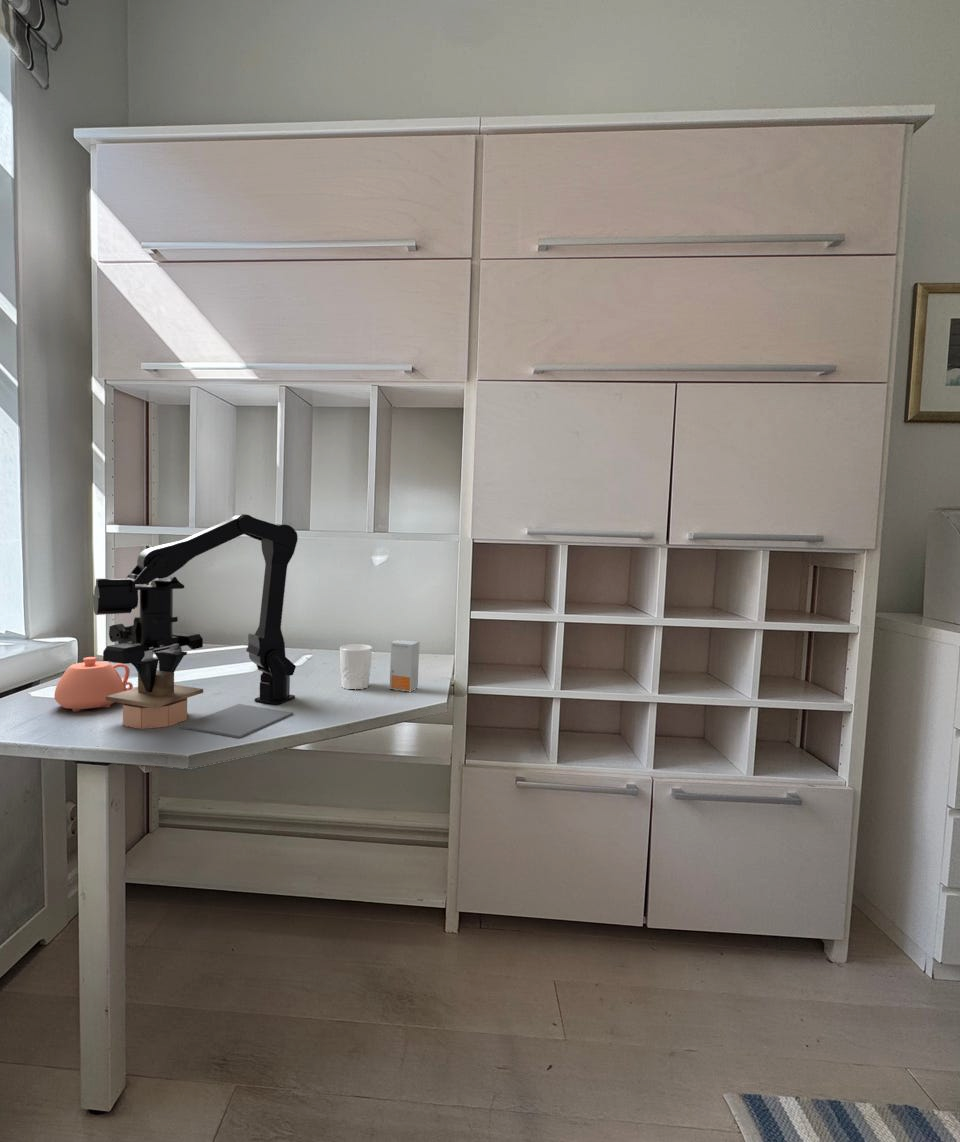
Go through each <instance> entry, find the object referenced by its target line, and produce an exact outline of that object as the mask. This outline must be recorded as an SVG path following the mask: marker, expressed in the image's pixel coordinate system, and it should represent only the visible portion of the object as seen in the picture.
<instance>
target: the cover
mask: <svg viewBox="0 0 960 1142" xmlns="http://www.w3.org/2000/svg"><path fill="white" fill-rule="evenodd" d="M200 694H204V688H201V687H200V688H199V687H195V686H194V687H193V686H185V685H180V684H175V672H174V673H173V672H166V671H159V669H158V670H157V671H156V676H155V682H154V686H153V690H152V692H146V690H145V687H144V685H143V683H142V680H141V678H140V676H139V673H138V672H137V687H136V688H132V689H131V690H127V691H124V692H120V693H116V694H112V695H109V696H106V701H112V702H114V703H119V704H123V703H124V704H130V705H136V706H142V707H148V708H157V707H160V706H163V705H166V704H169V703H173V702H176V701H179V700H182V699H185V698H187V699H189V698H190V697H194V696H198V695H200Z"/></svg>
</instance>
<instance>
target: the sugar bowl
mask: <svg viewBox="0 0 960 1142" xmlns="http://www.w3.org/2000/svg"><path fill="white" fill-rule="evenodd" d="M97 660H98V658H97V656H96V657H95V656H88V657H83V658H82V661H83V662H77V663H73V664H71V665H69V666H68V667H67V668H66V670H65V671H64V673H63V674H62V675H61V677H60V679H59V680H58V682H57V684H56V687H55V691H54V696H53V697H54V701H55V702H56V703H57V704H58V705H59V706H61V708H64V709H71V710H73V711H72V712H81V711H80V710H82V711H84V710H86V709H94V708H101V707H105V708H109V706H110V705H112V704H114V703H115V702H112V701H106V696H109V695H112V694H116V693H120V692H124V691H127V690H131V689H134V686H133V683H132V682H131V681H128V680H129V677H130V674H131V673H130V672H131V669H130V667H129V666H128V665H127V664H121V663H115V664H111V662H107V661H103V660H102V661H101V660H100V661H97ZM119 667H120V668H124V670H125V671H124V672H125V673H124V677H123V679H122V677H121V675H120V674H119V672H118V671H117V669H116V668H119ZM127 686H128V687H127ZM110 707H111V706H110ZM83 709H84V710H83Z"/></svg>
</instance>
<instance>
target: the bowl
mask: <svg viewBox="0 0 960 1142" xmlns="http://www.w3.org/2000/svg"><path fill="white" fill-rule="evenodd" d="M187 720H188V698H185V699H182V700H179V701H176V702H173V703H169V704H166V705H163V706H160V707H157V708H148V707H142V706H136V705H130V704H124V703H122V726H123V725H125V726H124V727H128V726H129V728H135V729H140V730H144V729H154V728H163V727H165V728H166V727H170V726H173V725H177V724H178V722H179V723H181V721H182V722H183V721H184V722H185V721H187Z"/></svg>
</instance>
